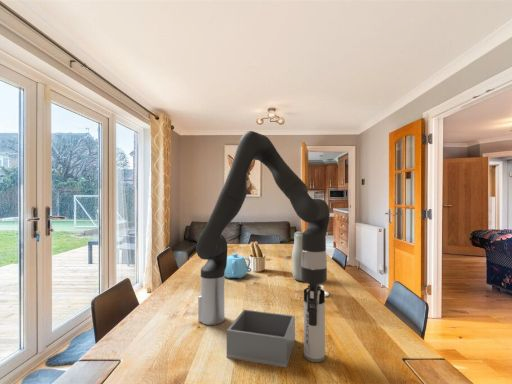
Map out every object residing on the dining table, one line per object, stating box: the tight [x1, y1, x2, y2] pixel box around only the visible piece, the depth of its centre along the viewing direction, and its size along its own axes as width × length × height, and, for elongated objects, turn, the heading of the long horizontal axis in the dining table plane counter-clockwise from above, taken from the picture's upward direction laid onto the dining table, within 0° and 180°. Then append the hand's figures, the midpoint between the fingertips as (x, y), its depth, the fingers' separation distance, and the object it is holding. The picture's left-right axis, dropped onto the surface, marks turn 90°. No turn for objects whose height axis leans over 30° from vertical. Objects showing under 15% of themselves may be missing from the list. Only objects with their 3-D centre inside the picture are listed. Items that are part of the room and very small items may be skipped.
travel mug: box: [303, 287, 326, 363], centre depth 85 cm, size 6×7×20 cm
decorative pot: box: [225, 253, 252, 279], centre depth 170 cm, size 16×16×14 cm
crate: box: [226, 309, 296, 368], centre depth 89 cm, size 18×16×8 cm
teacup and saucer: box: [320, 284, 330, 297], centre depth 139 cm, size 9×8×4 cm
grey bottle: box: [291, 230, 304, 282], centre depth 162 cm, size 10×10×28 cm
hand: (314, 319), depth 85 cm, fingers open, 8 cm apart
